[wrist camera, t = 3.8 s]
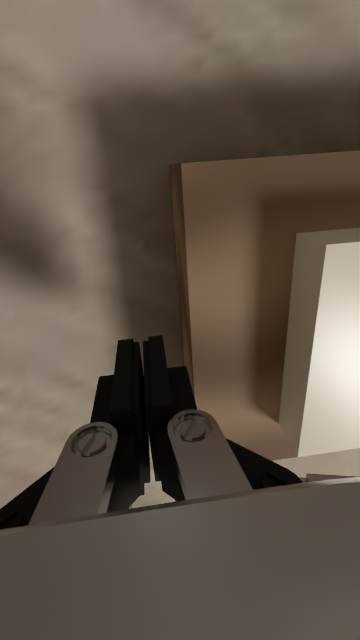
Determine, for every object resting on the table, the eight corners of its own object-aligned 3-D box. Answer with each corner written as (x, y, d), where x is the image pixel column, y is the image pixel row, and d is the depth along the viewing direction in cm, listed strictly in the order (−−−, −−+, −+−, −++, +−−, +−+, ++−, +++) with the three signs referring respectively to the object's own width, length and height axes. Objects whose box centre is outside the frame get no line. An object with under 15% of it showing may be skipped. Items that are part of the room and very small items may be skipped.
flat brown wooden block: (169, 165, 13) (180, 163, 10) (449, 145, 14) (553, 136, 11) (187, 416, 19) (198, 471, 16) (384, 389, 21) (436, 435, 17)
